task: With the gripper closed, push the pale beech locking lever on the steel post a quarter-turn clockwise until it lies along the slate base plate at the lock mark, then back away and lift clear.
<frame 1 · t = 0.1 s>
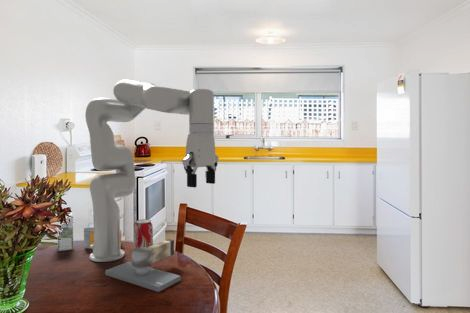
hand: (201, 185, 109), 31 cm above the table, tool pointing down, fingers open, 9 cm apart
lever handle: (154, 253, 119), point 7 cm above the table, hinge at 0.0°
soda can: (143, 250, 142), on the table
syrup box: (65, 249, 143), on the table
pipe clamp: (105, 246, 147), on the table, touching medicine box
medicine box: (92, 246, 147), on the table, touching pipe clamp
mount plate: (142, 277, 115), on the table
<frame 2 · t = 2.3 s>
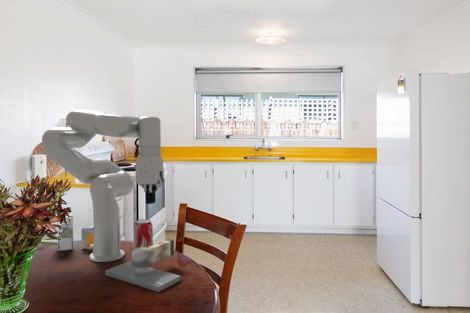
hand: (150, 203, 125), 22 cm above the table, tool pointing down, fingers closed
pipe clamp: (103, 247, 145), on the table, touching medicine box
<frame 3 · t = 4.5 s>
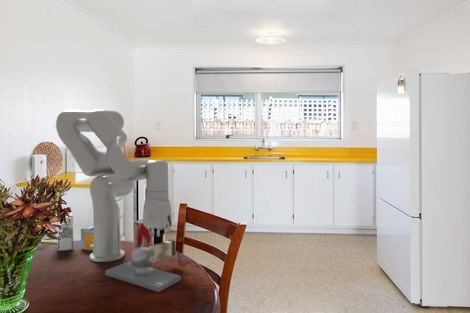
hand: (158, 246, 124), 7 cm above the table, tool pointing down, fingers closed
lever handle: (154, 253, 119), point 6 cm above the table, hinge at -3.0°, touching gripper
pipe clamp: (101, 249, 143), on the table, touching medicine box
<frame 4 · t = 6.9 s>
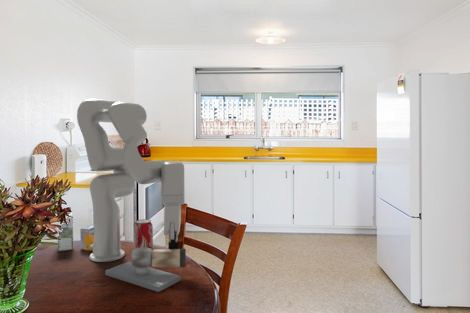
hand: (173, 253, 118), 7 cm above the table, tool pointing down, fingers closed
lever handle: (158, 257, 115), point 7 cm above the table, hinge at -56.0°, touching gripper
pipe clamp: (101, 249, 143), on the table, touching arm, medicine box
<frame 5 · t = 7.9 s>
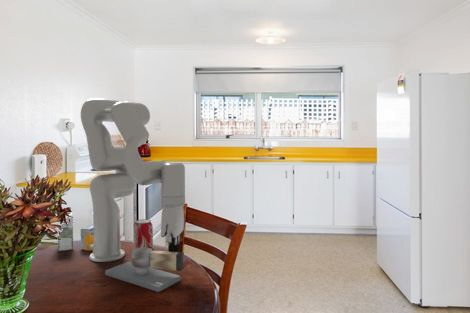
hand: (173, 255, 115), 7 cm above the table, tool pointing down, fingers closed
lever handle: (157, 259, 113), point 6 cm above the table, hinge at -71.5°, touching gripper
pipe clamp: (102, 249, 143), on the table, touching medicine box
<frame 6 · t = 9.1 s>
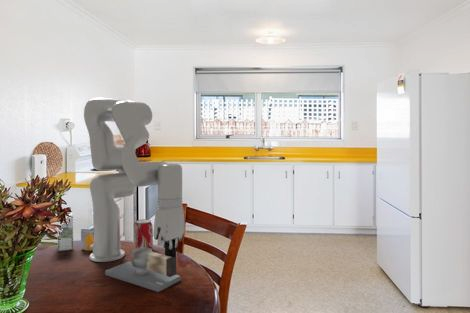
hand: (170, 259, 111), 7 cm above the table, tool pointing down, fingers closed
lever handle: (153, 261, 111), point 6 cm above the table, hinge at -92.8°, touching gripper
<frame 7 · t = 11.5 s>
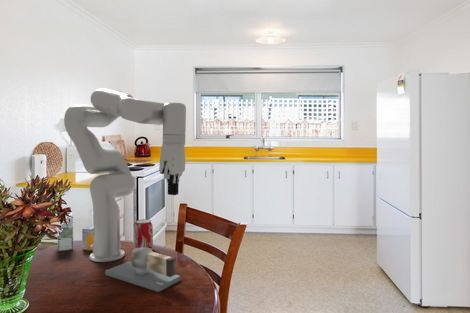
hand: (172, 194, 118), 27 cm above the table, tool pointing down, fingers closed
lever handle: (153, 261, 111), point 7 cm above the table, hinge at -93.0°
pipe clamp: (103, 249, 143), on the table, touching arm, medicine box
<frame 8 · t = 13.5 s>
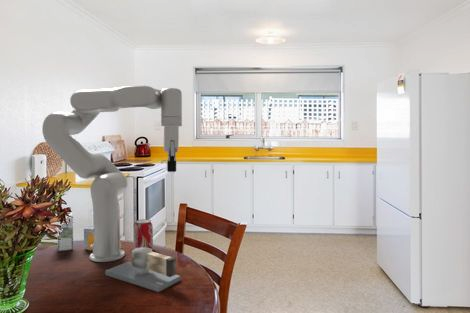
hand: (171, 171, 131), 33 cm above the table, tool pointing down, fingers closed
at the end: lever handle at -93° (first picture: +0°); the gripper is holding nothing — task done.
